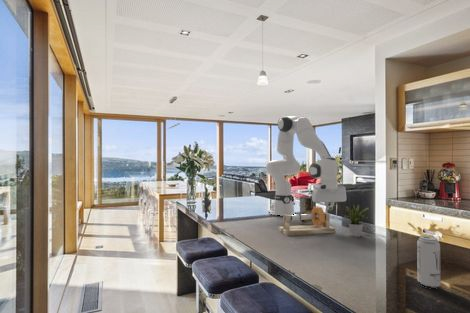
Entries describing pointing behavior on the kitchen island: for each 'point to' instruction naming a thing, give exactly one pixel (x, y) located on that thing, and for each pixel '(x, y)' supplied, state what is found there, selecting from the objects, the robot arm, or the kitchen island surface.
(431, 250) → the energy drink can
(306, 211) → the coffee box
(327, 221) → the pipe stand
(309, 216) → the steel pipe
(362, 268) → the kitchen island surface
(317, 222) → the orange faceted ring
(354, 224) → the house plant
